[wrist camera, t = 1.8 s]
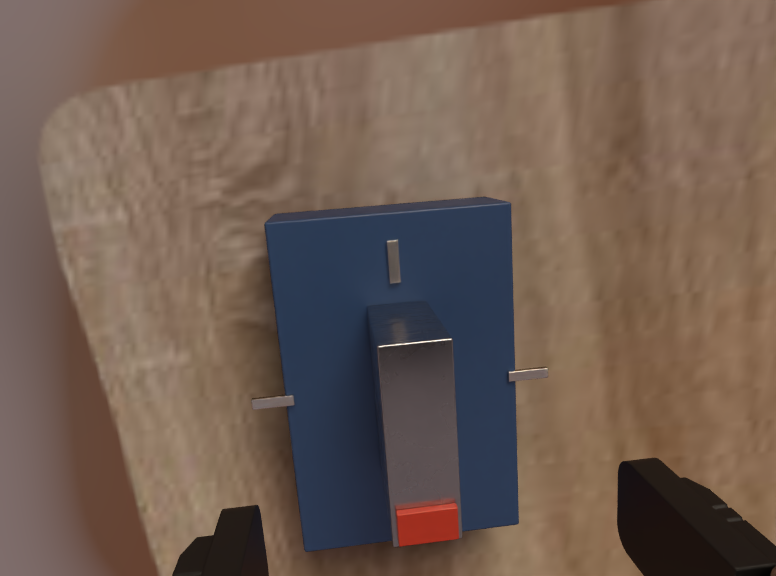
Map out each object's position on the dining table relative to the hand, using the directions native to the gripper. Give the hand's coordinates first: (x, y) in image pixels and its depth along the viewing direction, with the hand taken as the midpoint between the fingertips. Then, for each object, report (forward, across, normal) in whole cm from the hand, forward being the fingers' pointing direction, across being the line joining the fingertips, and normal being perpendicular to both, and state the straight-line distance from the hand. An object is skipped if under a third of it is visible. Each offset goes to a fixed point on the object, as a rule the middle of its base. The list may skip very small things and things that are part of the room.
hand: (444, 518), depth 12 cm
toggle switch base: (+10, 0, 0) cm, 10 cm away
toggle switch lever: (+7, 0, 0) cm, 7 cm away
